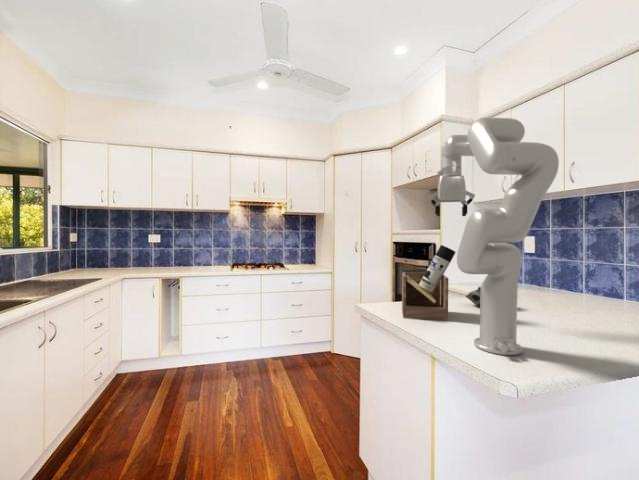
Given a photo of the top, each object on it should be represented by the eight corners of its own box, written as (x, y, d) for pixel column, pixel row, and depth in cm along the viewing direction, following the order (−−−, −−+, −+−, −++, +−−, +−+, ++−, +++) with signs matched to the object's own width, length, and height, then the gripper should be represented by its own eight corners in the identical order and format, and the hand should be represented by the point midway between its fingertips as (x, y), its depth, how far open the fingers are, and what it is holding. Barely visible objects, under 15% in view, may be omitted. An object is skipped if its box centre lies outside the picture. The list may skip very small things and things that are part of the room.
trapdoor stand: (447, 321, 119) (448, 278, 119) (402, 317, 123) (403, 276, 123) (441, 311, 136) (441, 273, 135) (401, 308, 140) (402, 272, 140)
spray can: (415, 283, 131) (437, 243, 129) (426, 288, 133) (448, 249, 131) (424, 290, 125) (447, 247, 122) (436, 295, 127) (459, 253, 125)
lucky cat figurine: (479, 302, 155) (494, 279, 152) (497, 316, 145) (514, 293, 141) (459, 295, 149) (475, 272, 146) (477, 310, 139) (494, 285, 135)
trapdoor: (434, 303, 122) (436, 300, 121) (406, 280, 124) (408, 278, 124) (430, 296, 135) (432, 294, 135) (405, 276, 138) (407, 274, 138)
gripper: (429, 172, 118) (429, 215, 118) (477, 170, 115) (477, 215, 114) (427, 176, 126) (427, 217, 126) (472, 174, 122) (471, 216, 122)
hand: (450, 216), depth 120 cm, fingers open, 9 cm apart
